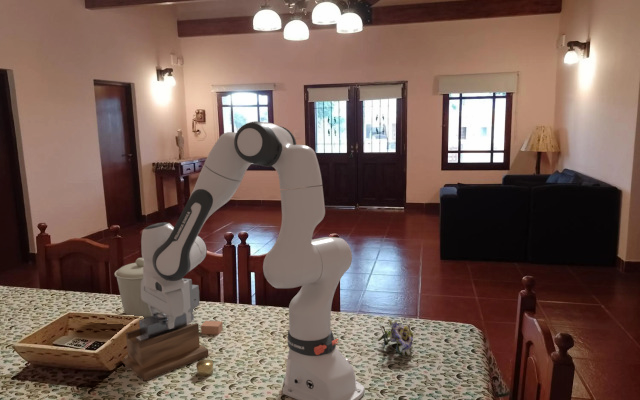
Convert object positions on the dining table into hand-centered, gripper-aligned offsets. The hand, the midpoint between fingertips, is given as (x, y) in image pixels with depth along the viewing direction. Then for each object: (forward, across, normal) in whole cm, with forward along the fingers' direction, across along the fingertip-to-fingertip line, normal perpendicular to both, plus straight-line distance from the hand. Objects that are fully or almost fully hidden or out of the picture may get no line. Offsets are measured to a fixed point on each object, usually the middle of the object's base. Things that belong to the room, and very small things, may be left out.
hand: (162, 323), depth 141 cm
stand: (+11, 0, 0) cm, 11 cm away
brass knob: (+11, +16, +4) cm, 20 cm away
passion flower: (+12, +46, +52) cm, 70 cm away
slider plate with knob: (+3, 0, 0) cm, 3 cm away
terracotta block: (+11, -6, +20) cm, 24 cm away
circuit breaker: (+11, -22, +18) cm, 31 cm away
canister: (+11, -37, +11) cm, 40 cm away
